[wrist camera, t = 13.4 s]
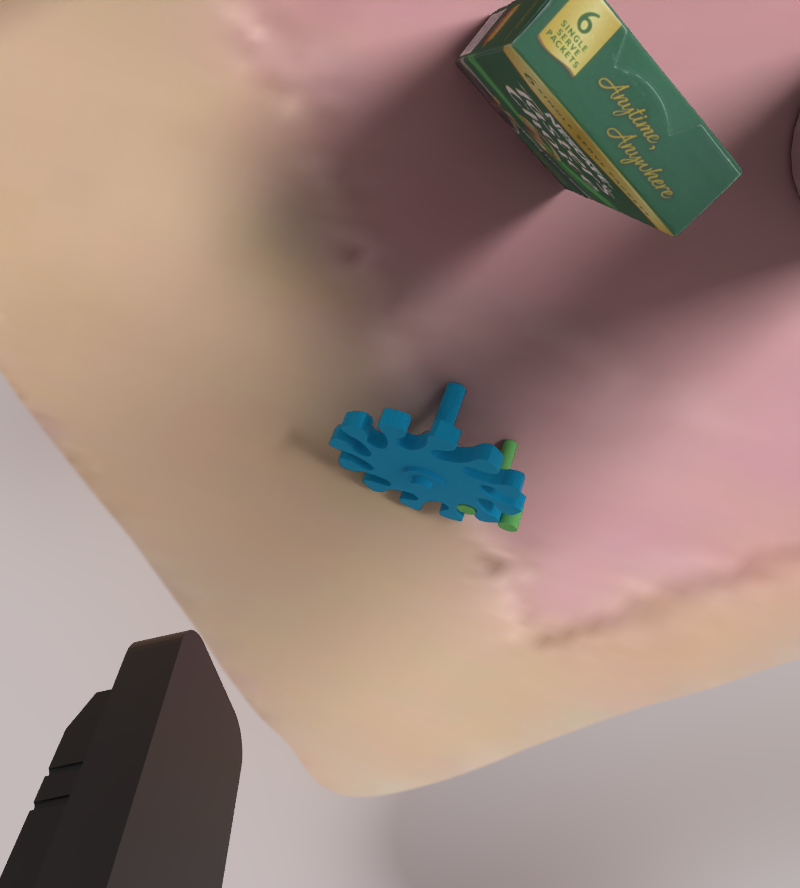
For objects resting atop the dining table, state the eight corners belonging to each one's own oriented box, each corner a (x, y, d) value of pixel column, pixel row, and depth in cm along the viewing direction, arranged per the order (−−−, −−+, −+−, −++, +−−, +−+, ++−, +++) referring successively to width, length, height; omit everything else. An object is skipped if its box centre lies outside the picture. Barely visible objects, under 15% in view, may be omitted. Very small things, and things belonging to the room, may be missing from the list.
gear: (289, 451, 38) (405, 419, 30) (332, 356, 40) (450, 303, 32) (443, 545, 43) (577, 539, 35) (473, 456, 45) (606, 432, 37)
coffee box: (443, 58, 32) (504, 44, 20) (491, 2, 31) (585, -46, 19) (563, 193, 35) (678, 250, 23) (610, 144, 34) (755, 178, 22)
